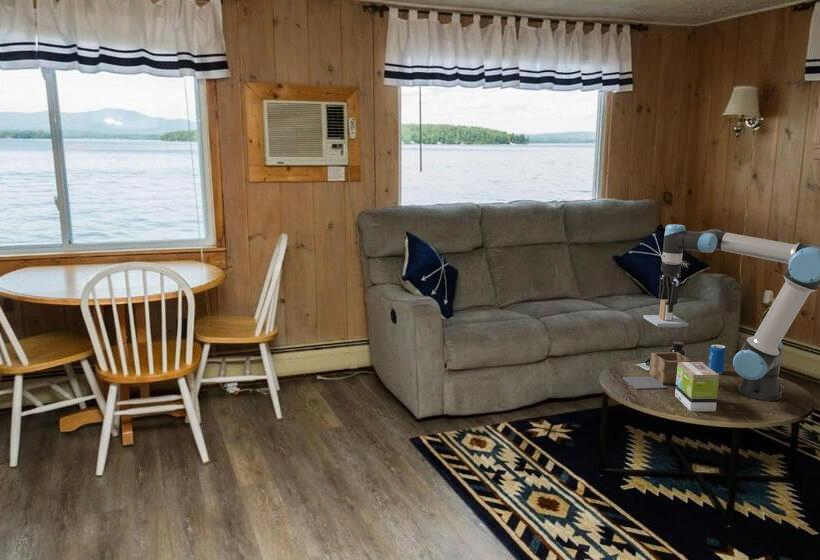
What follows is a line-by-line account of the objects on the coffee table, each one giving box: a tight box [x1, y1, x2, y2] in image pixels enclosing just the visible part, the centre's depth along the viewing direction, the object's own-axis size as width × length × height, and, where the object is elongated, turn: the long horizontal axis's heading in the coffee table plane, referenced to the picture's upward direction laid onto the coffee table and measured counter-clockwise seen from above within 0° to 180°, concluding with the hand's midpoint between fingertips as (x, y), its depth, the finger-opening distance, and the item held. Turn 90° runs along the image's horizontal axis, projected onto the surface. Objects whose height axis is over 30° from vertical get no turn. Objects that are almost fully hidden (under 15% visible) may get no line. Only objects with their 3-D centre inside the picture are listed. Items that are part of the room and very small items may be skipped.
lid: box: [643, 299, 690, 328], centre depth 266 cm, size 13×13×10 cm
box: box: [648, 351, 693, 385], centre depth 272 cm, size 12×12×10 cm
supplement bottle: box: [668, 341, 687, 357], centre depth 286 cm, size 7×7×12 cm
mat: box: [622, 375, 668, 390], centre depth 268 cm, size 13×13×1 cm
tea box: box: [674, 361, 720, 412], centre depth 245 cm, size 15×10×15 cm
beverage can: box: [707, 343, 727, 375], centre depth 281 cm, size 6×6×12 cm
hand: (665, 318), depth 266 cm, fingers closed on lid, 4 cm apart
